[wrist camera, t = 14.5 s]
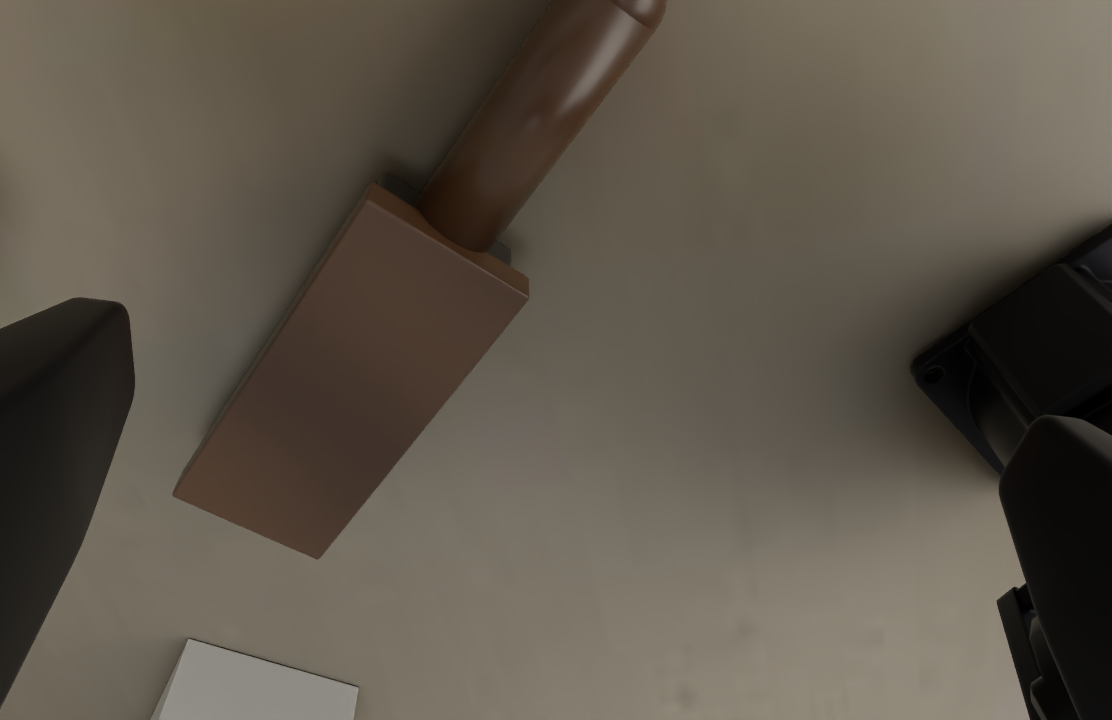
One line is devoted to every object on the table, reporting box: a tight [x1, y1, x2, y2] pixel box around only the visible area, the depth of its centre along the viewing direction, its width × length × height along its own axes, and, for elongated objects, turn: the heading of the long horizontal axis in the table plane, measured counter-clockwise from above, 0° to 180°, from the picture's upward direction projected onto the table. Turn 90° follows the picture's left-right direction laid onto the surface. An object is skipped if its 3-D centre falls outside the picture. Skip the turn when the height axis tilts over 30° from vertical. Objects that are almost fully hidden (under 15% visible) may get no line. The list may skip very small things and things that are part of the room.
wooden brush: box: [173, 0, 667, 559], centre depth 21 cm, size 17×4×3 cm, turn 144°
